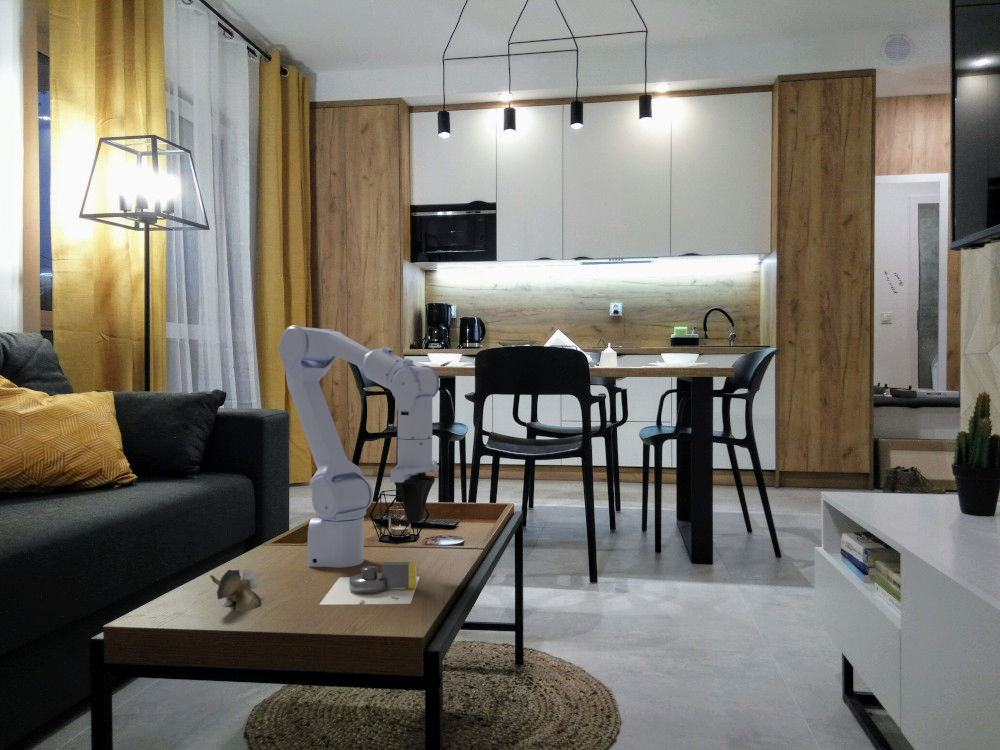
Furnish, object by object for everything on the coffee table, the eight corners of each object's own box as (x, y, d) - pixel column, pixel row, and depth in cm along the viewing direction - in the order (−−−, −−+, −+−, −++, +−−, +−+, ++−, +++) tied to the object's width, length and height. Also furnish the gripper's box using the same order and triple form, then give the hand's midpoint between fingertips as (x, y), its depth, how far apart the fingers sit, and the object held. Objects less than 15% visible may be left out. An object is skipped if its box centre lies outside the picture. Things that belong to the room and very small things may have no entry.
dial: (345, 593, 103) (345, 568, 103) (353, 582, 109) (353, 558, 109) (413, 593, 103) (413, 568, 103) (418, 581, 109) (418, 558, 109)
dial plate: (319, 611, 99) (319, 603, 99) (339, 583, 113) (339, 576, 113) (410, 610, 99) (410, 602, 99) (419, 582, 113) (419, 575, 113)
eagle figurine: (194, 601, 100) (203, 606, 92) (221, 555, 103) (232, 557, 95) (241, 624, 102) (254, 630, 95) (267, 578, 105) (281, 581, 98)
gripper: (419, 442, 107) (419, 530, 106) (453, 435, 120) (452, 514, 120) (378, 441, 109) (378, 528, 108) (415, 434, 122) (415, 511, 122)
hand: (414, 520), depth 114 cm, fingers closed
